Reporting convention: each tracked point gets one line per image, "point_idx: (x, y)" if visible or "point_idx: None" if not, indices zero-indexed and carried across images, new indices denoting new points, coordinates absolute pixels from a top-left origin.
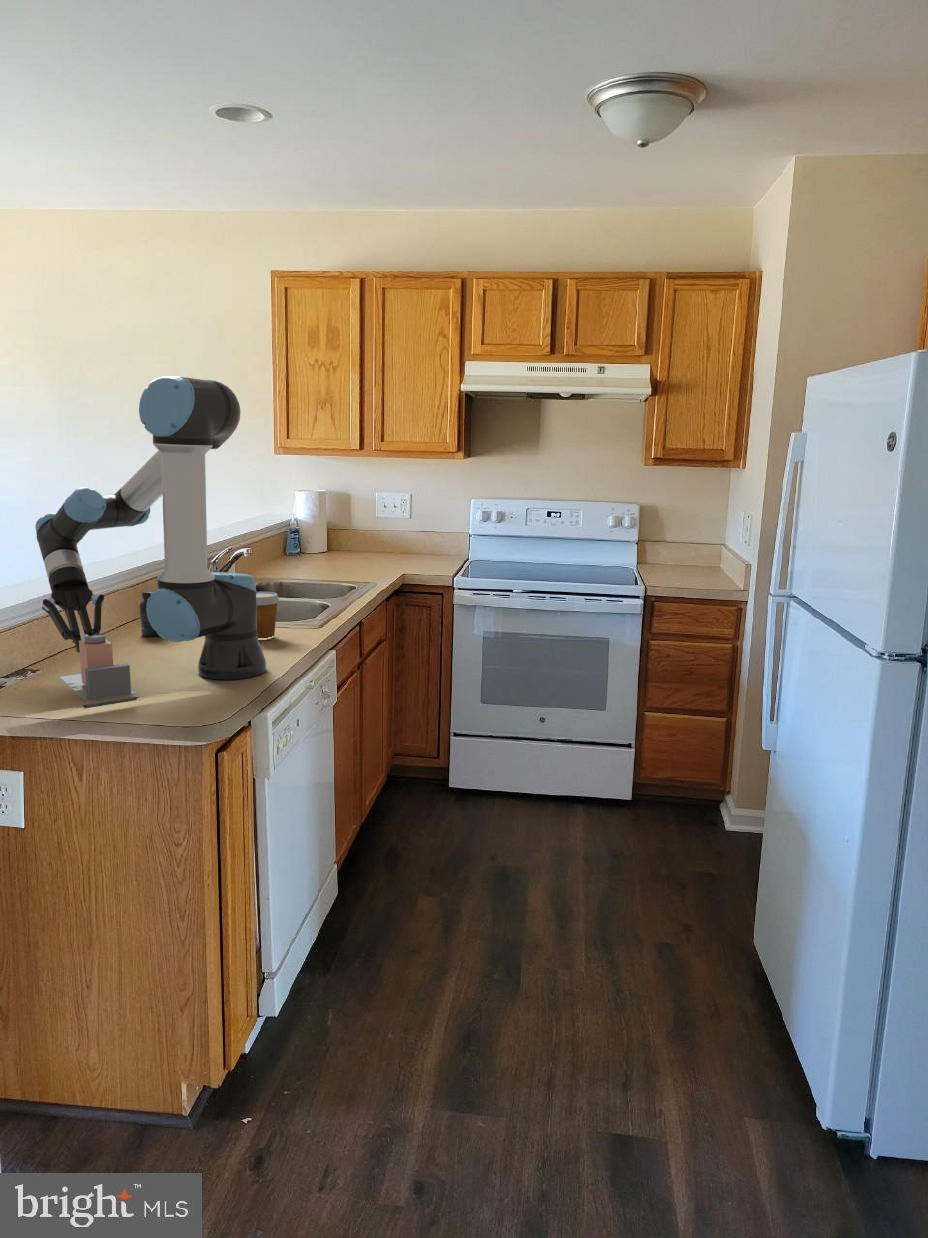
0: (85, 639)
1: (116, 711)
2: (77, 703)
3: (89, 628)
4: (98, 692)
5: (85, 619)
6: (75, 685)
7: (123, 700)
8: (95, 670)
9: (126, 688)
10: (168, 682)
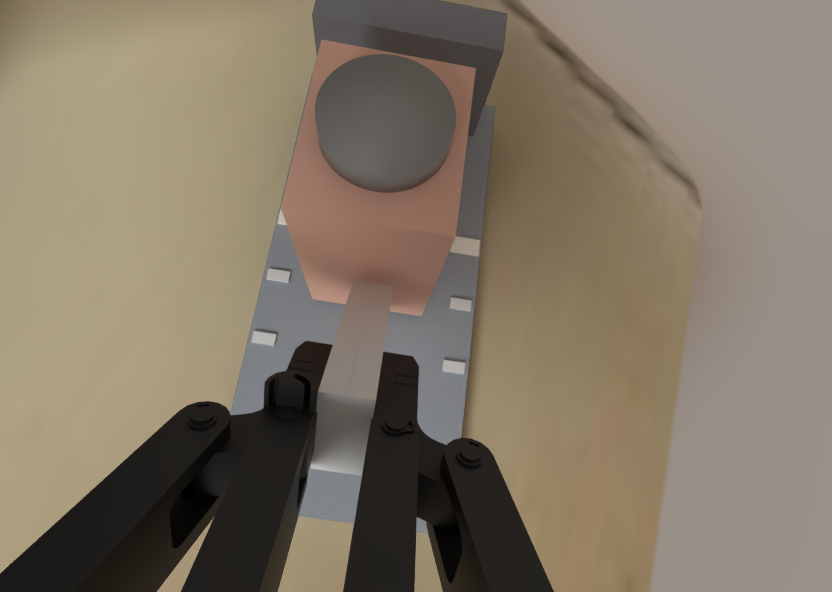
0: (454, 114)
1: None
2: (488, 194)
3: (275, 434)
4: None
5: (254, 529)
6: (446, 325)
7: None
8: (472, 9)
9: None
10: (82, 219)
